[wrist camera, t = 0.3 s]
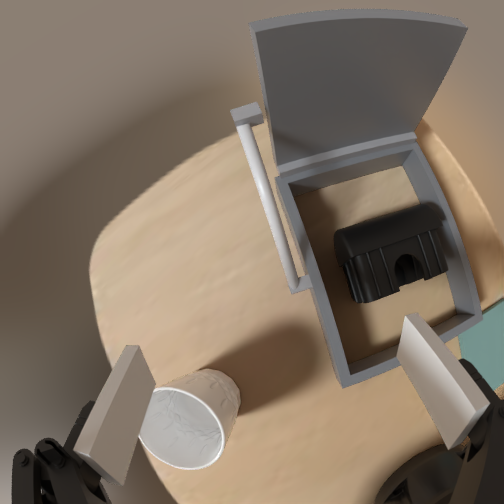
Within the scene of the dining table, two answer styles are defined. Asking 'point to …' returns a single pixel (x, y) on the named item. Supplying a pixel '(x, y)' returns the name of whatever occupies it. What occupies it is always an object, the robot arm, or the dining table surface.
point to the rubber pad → (486, 345)
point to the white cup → (191, 419)
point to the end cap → (390, 252)
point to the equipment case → (352, 136)
